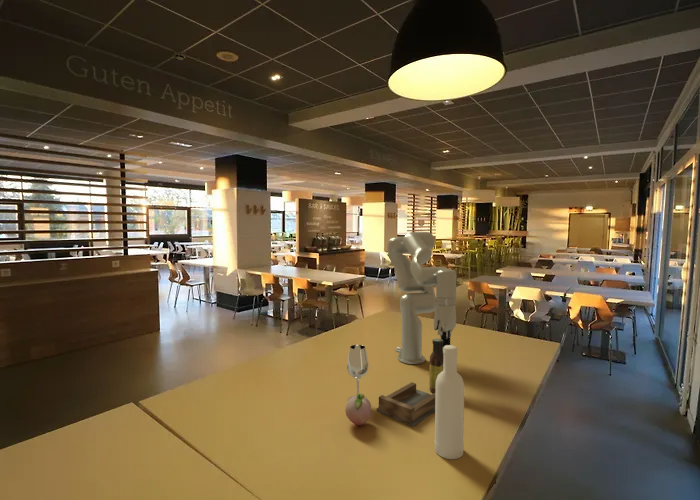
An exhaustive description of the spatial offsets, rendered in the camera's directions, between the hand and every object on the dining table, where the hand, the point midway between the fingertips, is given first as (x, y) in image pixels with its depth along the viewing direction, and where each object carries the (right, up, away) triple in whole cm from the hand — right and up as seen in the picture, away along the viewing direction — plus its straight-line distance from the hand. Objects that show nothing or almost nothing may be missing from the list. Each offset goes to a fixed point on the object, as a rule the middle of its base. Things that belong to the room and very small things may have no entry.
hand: (445, 347), depth 146 cm
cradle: (-15, -17, -15) cm, 27 cm away
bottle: (-10, -19, -41) cm, 46 cm away
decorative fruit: (-35, -18, -27) cm, 48 cm away
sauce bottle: (-4, -16, -3) cm, 17 cm away
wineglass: (-35, -17, -11) cm, 40 cm away
